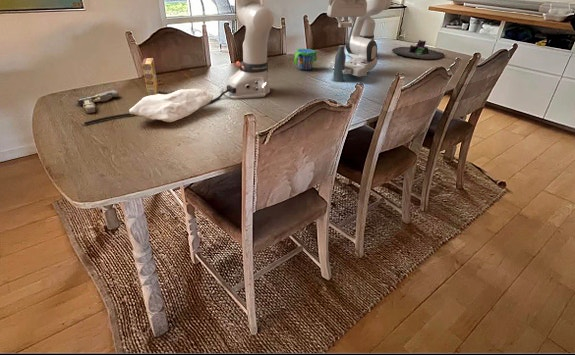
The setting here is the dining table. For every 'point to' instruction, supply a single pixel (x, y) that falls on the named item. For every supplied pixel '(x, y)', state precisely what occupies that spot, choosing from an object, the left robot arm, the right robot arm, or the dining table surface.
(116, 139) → the dining table surface
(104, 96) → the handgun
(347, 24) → the cap
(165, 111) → the crumpled cloth
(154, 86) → the candy box
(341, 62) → the bottle
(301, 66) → the snack cup
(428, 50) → the dark round tray
